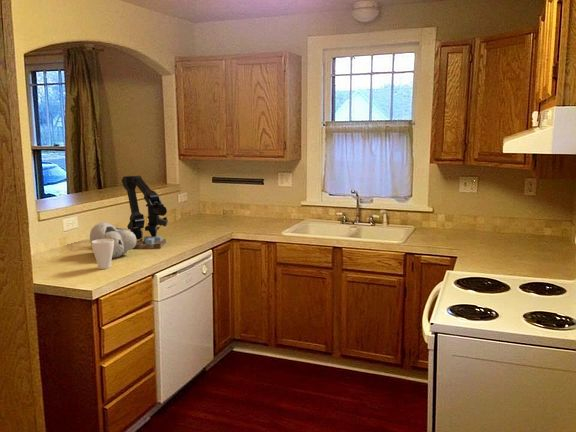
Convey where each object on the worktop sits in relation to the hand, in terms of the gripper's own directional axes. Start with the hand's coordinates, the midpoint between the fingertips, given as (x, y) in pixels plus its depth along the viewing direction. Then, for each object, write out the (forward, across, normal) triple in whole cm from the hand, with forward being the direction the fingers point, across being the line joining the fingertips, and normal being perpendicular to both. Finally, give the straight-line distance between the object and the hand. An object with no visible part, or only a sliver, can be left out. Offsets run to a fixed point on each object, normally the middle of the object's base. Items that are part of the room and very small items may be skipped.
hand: (154, 239), depth 318 cm
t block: (+2, -7, 0) cm, 7 cm away
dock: (+2, -10, 0) cm, 10 cm away
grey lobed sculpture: (+2, -31, +16) cm, 35 cm away
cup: (+2, -58, +11) cm, 59 cm away
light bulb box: (+2, -10, +20) cm, 22 cm away
